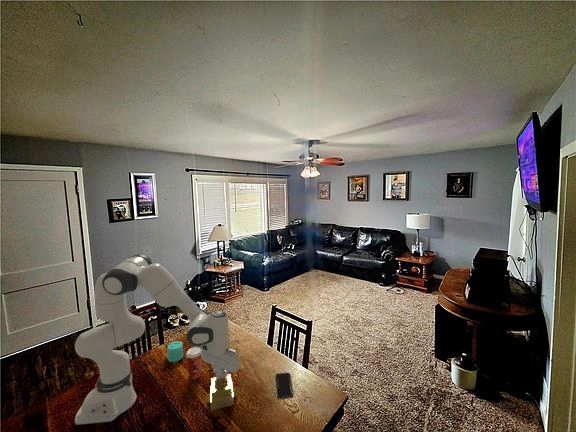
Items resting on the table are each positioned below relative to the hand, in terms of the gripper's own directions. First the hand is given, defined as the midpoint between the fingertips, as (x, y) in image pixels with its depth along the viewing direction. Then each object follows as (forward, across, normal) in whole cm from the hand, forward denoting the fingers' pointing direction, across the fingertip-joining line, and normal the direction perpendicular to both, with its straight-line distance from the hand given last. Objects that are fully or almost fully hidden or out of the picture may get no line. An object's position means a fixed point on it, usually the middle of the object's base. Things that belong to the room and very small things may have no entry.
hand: (220, 374), depth 115 cm
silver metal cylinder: (+4, 0, 0) cm, 4 cm away
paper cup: (+13, +23, -6) cm, 27 cm away
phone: (+13, -22, -20) cm, 33 cm away
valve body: (+13, 0, 0) cm, 13 cm away
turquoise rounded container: (+13, +45, -12) cm, 48 cm away
